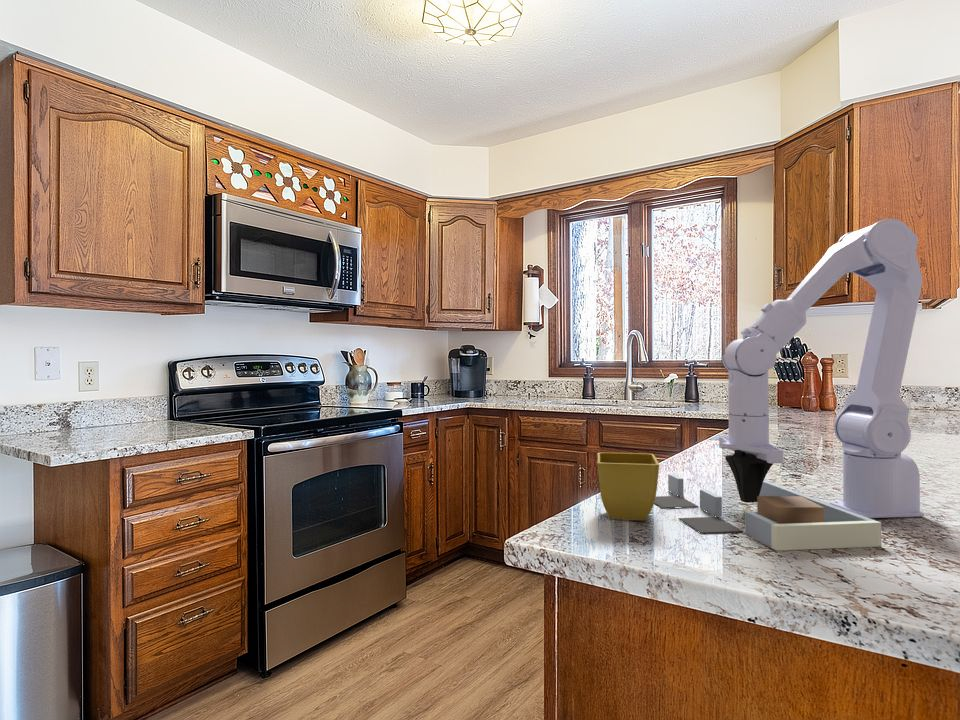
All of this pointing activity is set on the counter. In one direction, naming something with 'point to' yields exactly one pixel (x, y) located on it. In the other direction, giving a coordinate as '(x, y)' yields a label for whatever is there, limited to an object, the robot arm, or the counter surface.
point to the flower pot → (628, 484)
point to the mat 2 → (710, 525)
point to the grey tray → (755, 522)
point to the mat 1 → (672, 502)
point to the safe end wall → (825, 535)
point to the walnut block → (789, 509)
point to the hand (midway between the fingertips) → (749, 501)
